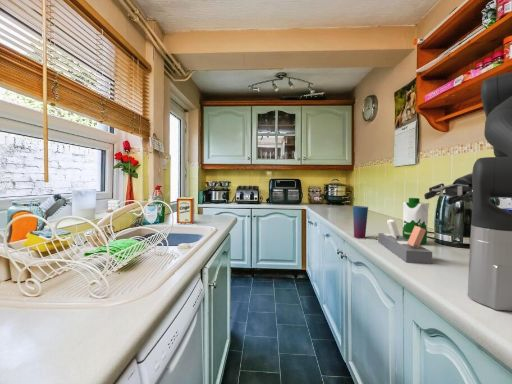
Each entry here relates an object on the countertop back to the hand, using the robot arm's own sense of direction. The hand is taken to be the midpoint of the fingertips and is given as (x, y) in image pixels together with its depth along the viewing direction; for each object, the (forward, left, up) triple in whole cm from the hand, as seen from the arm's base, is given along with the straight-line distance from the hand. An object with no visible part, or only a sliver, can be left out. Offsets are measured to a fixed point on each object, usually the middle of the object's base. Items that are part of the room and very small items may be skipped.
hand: (436, 199), depth 87 cm
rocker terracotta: (0, +7, -17) cm, 18 cm away
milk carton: (+25, -5, -21) cm, 34 cm away
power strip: (+13, +7, -21) cm, 26 cm away
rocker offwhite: (+14, +7, -17) cm, 23 cm away
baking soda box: (+53, +116, -22) cm, 129 cm away
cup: (+31, +17, -21) cm, 41 cm away
